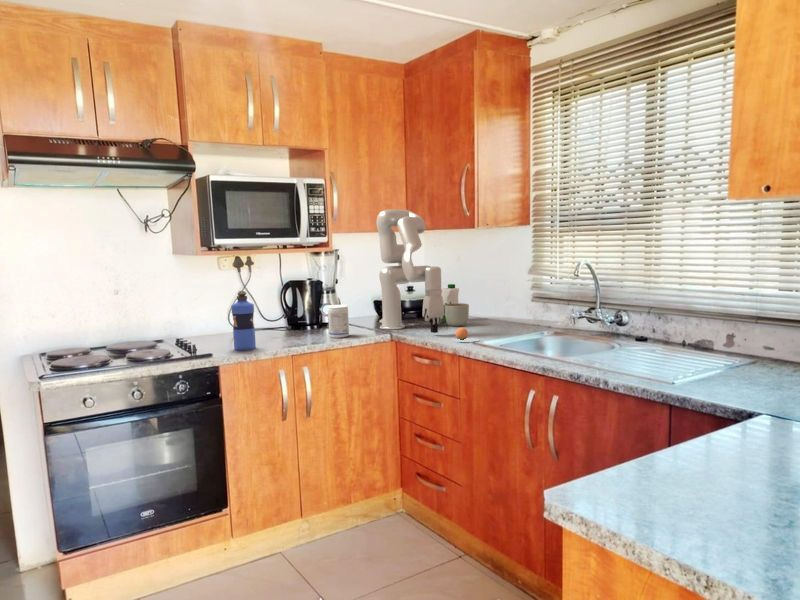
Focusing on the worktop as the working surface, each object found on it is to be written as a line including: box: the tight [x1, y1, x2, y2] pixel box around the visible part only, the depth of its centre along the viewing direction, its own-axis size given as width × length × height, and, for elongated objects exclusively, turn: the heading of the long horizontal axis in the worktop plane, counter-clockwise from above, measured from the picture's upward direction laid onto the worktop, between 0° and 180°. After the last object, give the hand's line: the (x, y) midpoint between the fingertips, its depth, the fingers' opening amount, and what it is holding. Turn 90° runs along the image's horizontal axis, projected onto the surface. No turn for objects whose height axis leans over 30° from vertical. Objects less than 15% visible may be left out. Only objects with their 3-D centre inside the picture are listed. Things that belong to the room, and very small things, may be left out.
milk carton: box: [440, 283, 460, 322], centre depth 308 cm, size 9×9×20 cm
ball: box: [455, 327, 469, 340], centre depth 251 cm, size 6×6×6 cm
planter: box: [445, 302, 470, 327], centre depth 293 cm, size 12×12×11 cm
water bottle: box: [230, 290, 257, 352], centre depth 244 cm, size 9×9×25 cm
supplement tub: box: [327, 304, 350, 339], centre depth 269 cm, size 10×10×15 cm
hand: (434, 332), depth 265 cm, fingers closed
